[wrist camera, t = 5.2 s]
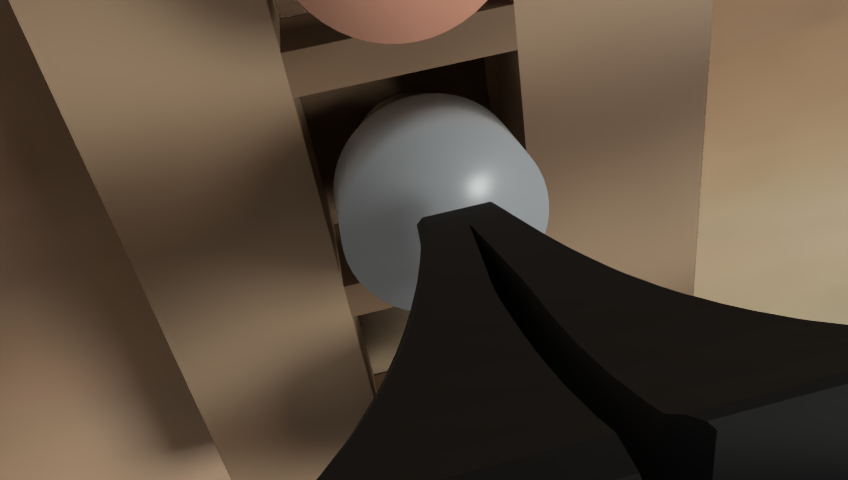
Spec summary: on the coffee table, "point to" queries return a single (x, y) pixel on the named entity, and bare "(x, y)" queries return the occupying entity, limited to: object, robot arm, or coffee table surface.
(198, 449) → the coffee table surface
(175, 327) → the wooden tray
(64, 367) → the coffee table surface
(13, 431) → the coffee table surface
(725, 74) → the coffee table surface
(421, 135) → the blue-grey ball
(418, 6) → the pink ball
